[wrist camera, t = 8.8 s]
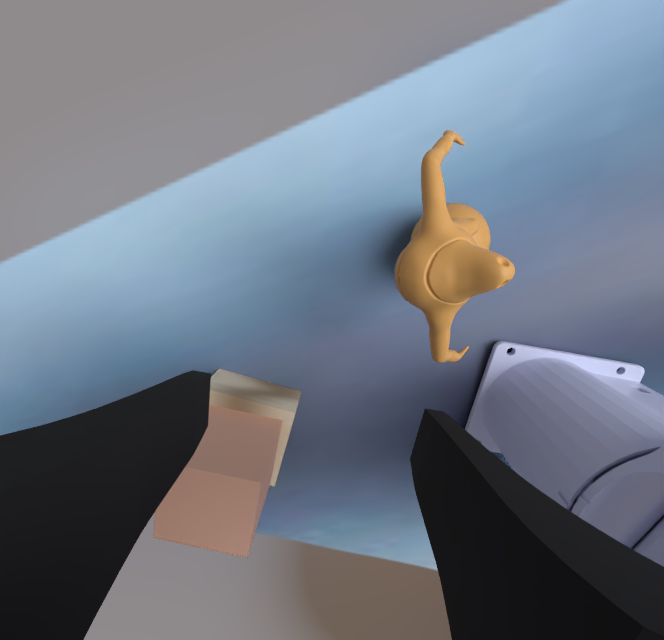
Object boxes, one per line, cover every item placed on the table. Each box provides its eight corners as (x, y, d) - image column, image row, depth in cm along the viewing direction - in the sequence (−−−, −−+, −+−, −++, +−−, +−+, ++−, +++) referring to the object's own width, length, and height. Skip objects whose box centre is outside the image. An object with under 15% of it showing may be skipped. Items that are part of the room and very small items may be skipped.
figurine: (473, 304, 19) (652, 416, 8) (377, 315, 20) (415, 435, 9) (471, 159, 17) (719, 22, 6) (362, 176, 18) (388, 83, 6)
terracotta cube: (282, 420, 20) (261, 482, 15) (270, 482, 21) (247, 557, 16) (204, 403, 19) (158, 460, 15) (198, 466, 21) (153, 538, 16)
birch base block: (302, 389, 22) (295, 413, 19) (283, 455, 24) (274, 486, 21) (220, 366, 22) (201, 387, 19) (207, 435, 24) (188, 463, 21)
